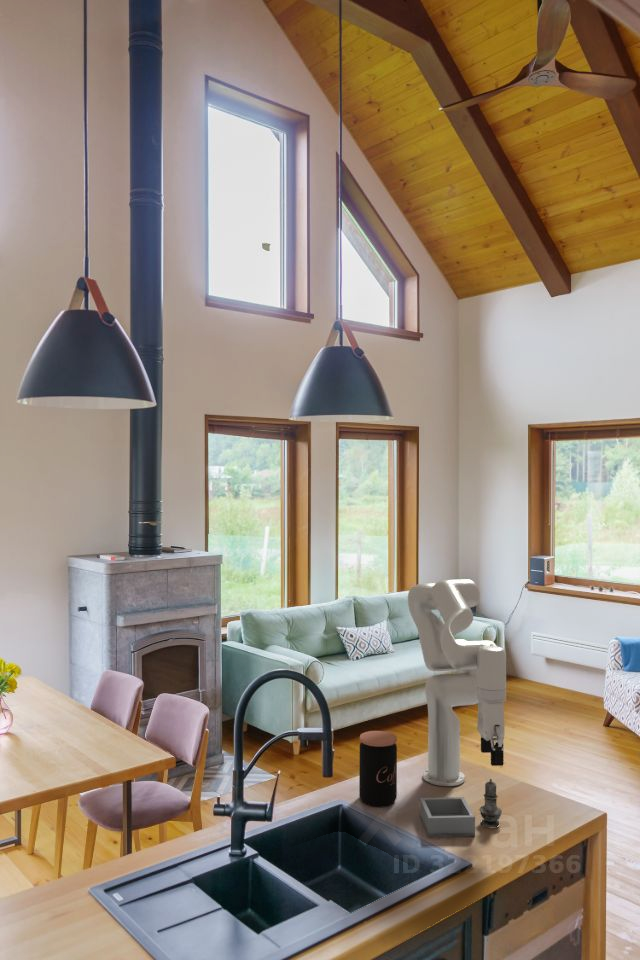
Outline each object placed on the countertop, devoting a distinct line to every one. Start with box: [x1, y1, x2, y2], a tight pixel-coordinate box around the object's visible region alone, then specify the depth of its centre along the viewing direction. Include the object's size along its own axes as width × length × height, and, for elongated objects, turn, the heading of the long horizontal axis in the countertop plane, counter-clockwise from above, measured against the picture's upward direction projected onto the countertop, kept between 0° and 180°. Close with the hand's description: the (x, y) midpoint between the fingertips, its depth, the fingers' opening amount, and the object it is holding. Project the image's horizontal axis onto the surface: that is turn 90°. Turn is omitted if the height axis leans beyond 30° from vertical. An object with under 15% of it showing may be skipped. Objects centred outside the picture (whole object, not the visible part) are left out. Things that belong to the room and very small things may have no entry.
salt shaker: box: [478, 778, 503, 828], centre depth 204 cm, size 6×6×12 cm
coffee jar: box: [358, 730, 398, 808], centre depth 218 cm, size 11×11×18 cm
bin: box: [419, 796, 476, 839], centre depth 202 cm, size 12×12×5 cm
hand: (491, 758), depth 203 cm, fingers open, 9 cm apart
